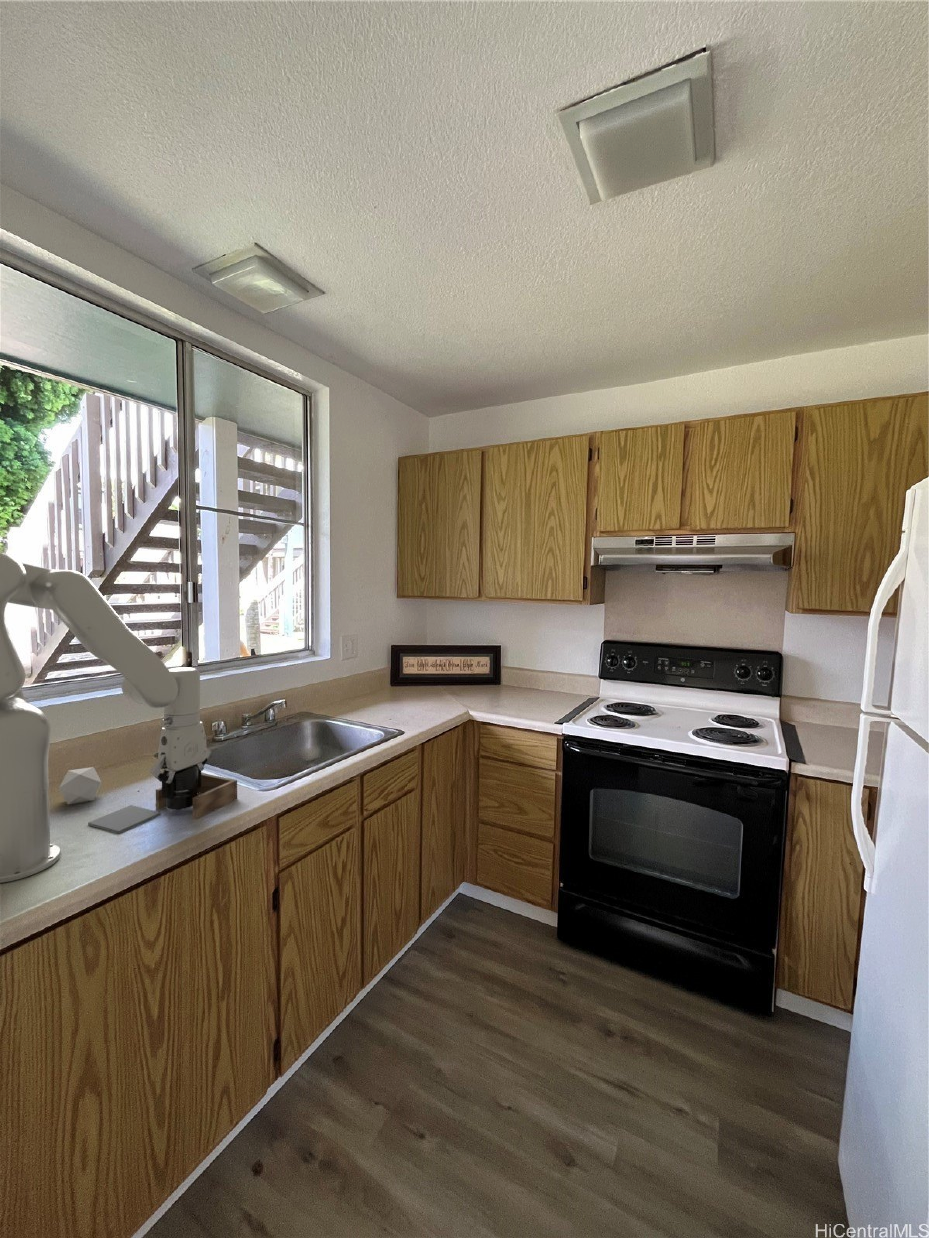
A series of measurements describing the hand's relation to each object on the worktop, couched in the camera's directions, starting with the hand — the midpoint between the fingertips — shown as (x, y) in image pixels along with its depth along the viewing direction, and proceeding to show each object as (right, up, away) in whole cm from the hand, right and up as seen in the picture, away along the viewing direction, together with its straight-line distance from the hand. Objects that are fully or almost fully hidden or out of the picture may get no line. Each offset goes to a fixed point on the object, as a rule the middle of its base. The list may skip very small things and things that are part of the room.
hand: (182, 791), depth 122 cm
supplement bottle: (0, -3, 0) cm, 3 cm away
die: (-28, -4, +5) cm, 29 cm away
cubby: (+1, -5, +4) cm, 7 cm away
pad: (-11, -5, -5) cm, 13 cm away
